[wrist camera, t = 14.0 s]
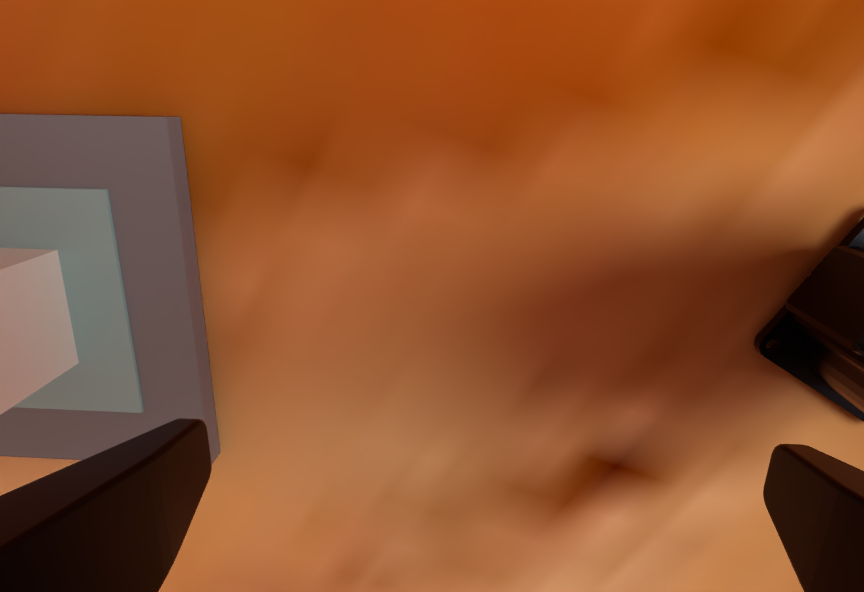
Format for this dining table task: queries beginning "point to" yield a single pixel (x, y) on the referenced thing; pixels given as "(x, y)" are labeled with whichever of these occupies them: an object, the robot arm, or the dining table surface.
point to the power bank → (32, 323)
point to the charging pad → (108, 278)
